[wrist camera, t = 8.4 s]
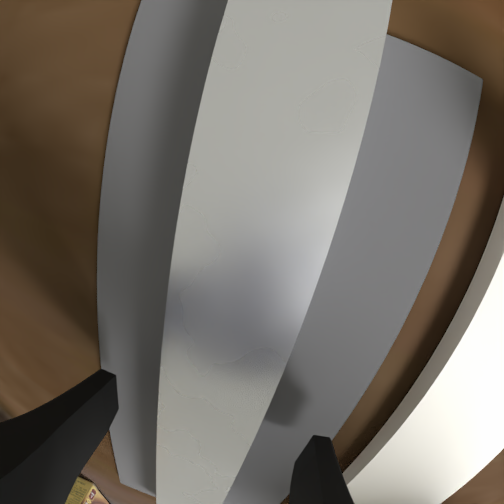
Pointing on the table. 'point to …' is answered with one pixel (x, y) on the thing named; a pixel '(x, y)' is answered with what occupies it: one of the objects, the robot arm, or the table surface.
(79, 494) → the candy box
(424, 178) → the rubber mat
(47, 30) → the table surface
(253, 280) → the rail
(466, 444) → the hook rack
